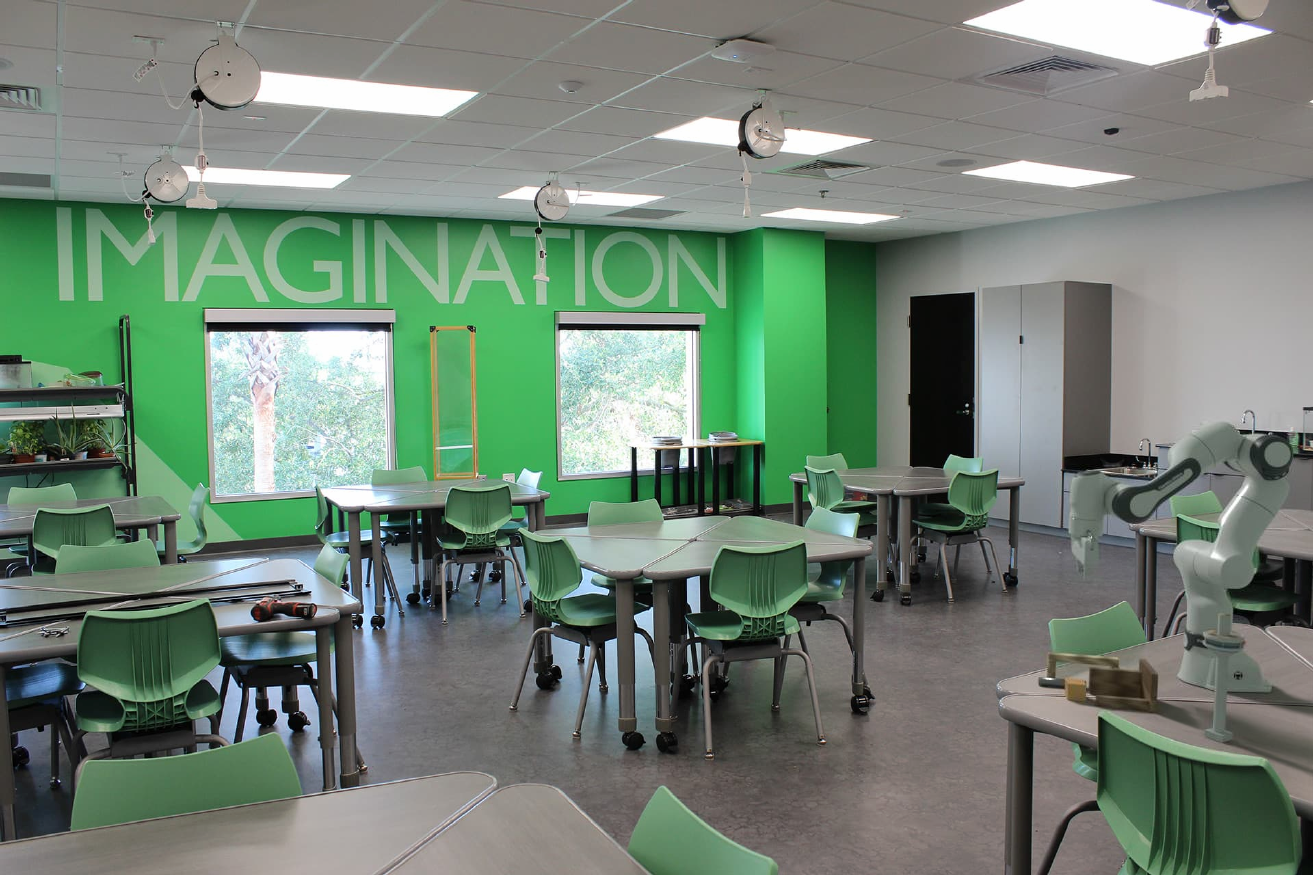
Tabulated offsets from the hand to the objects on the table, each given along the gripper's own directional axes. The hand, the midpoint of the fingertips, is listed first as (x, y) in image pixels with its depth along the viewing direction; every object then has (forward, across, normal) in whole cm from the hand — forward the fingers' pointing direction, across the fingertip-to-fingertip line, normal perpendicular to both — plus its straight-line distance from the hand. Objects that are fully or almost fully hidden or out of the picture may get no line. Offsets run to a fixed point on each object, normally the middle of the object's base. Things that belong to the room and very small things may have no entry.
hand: (1083, 576), depth 267 cm
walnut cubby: (+29, -18, -7) cm, 35 cm away
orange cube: (+29, -18, +4) cm, 35 cm away
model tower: (+29, -39, -24) cm, 54 cm away
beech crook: (+29, -6, 0) cm, 30 cm away
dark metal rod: (+28, -11, +6) cm, 31 cm away
